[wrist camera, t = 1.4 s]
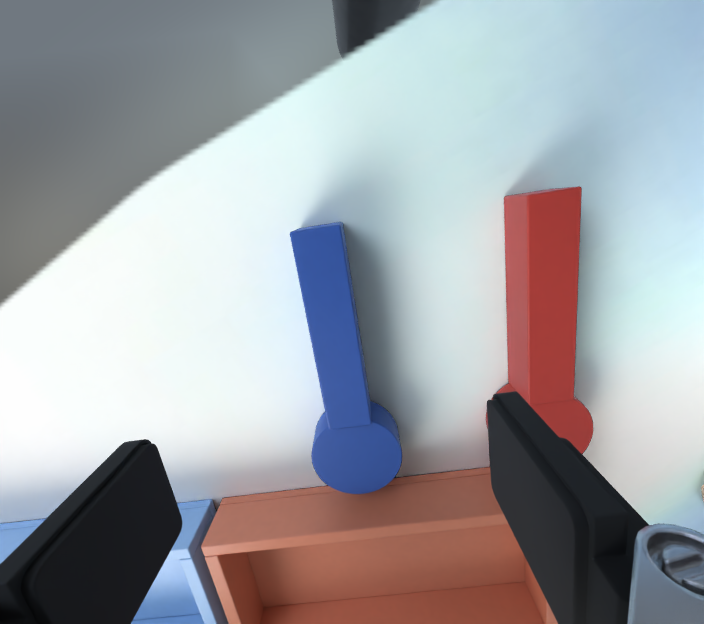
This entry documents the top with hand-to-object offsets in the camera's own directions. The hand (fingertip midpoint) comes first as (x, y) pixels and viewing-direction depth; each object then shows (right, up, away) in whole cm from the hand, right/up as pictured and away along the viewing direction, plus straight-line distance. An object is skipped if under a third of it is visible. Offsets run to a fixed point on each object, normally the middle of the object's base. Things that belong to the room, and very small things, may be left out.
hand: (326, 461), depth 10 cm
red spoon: (+9, +3, +7) cm, 12 cm away
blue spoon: (0, +2, +8) cm, 8 cm away
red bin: (+3, -9, +11) cm, 15 cm away
